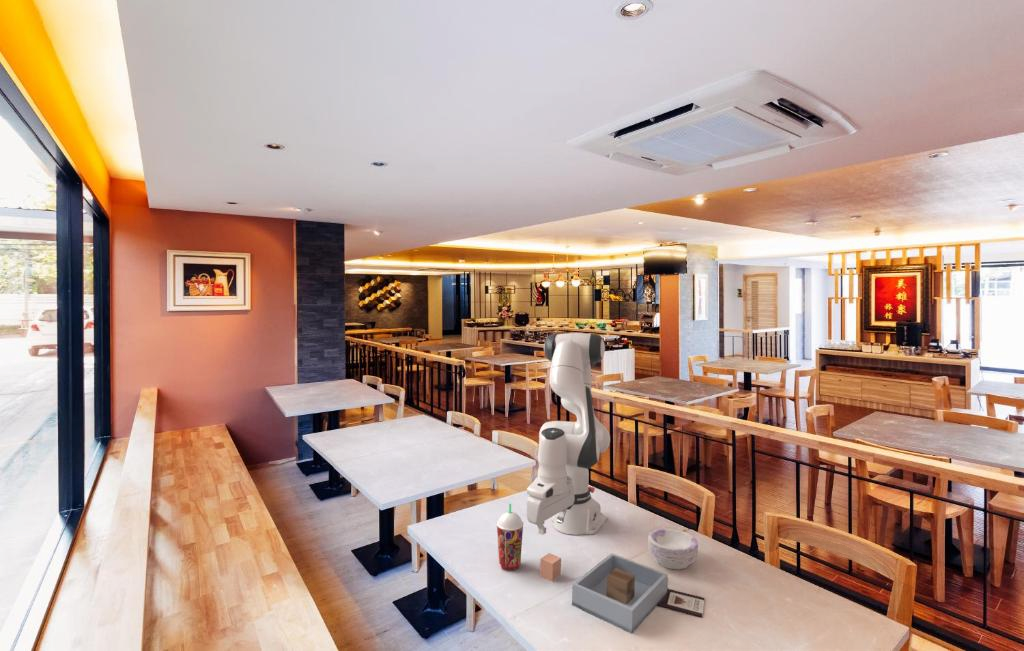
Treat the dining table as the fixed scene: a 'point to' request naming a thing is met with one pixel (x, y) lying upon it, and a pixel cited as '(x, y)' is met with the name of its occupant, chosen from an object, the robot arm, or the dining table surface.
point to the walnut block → (620, 586)
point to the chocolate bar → (682, 603)
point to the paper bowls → (673, 548)
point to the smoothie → (509, 540)
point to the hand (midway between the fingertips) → (551, 527)
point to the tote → (594, 600)
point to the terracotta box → (550, 567)
